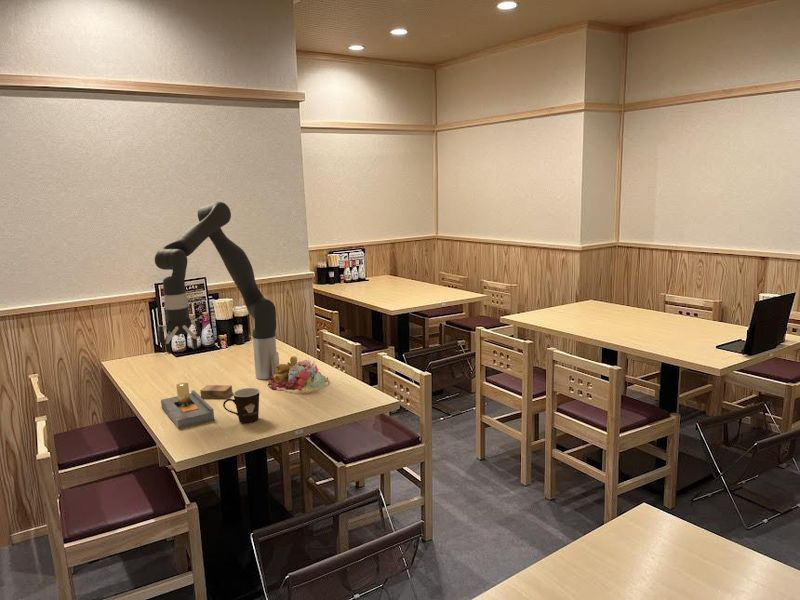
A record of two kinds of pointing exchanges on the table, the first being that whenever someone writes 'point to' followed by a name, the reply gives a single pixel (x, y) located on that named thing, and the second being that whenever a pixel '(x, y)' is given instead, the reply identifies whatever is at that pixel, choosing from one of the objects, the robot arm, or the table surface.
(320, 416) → the table surface
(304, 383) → the candy landscape model
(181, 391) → the brass peg
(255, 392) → the coffee mug
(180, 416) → the rack plate
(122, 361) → the table surface
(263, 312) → the robot arm
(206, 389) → the brown wooden block
